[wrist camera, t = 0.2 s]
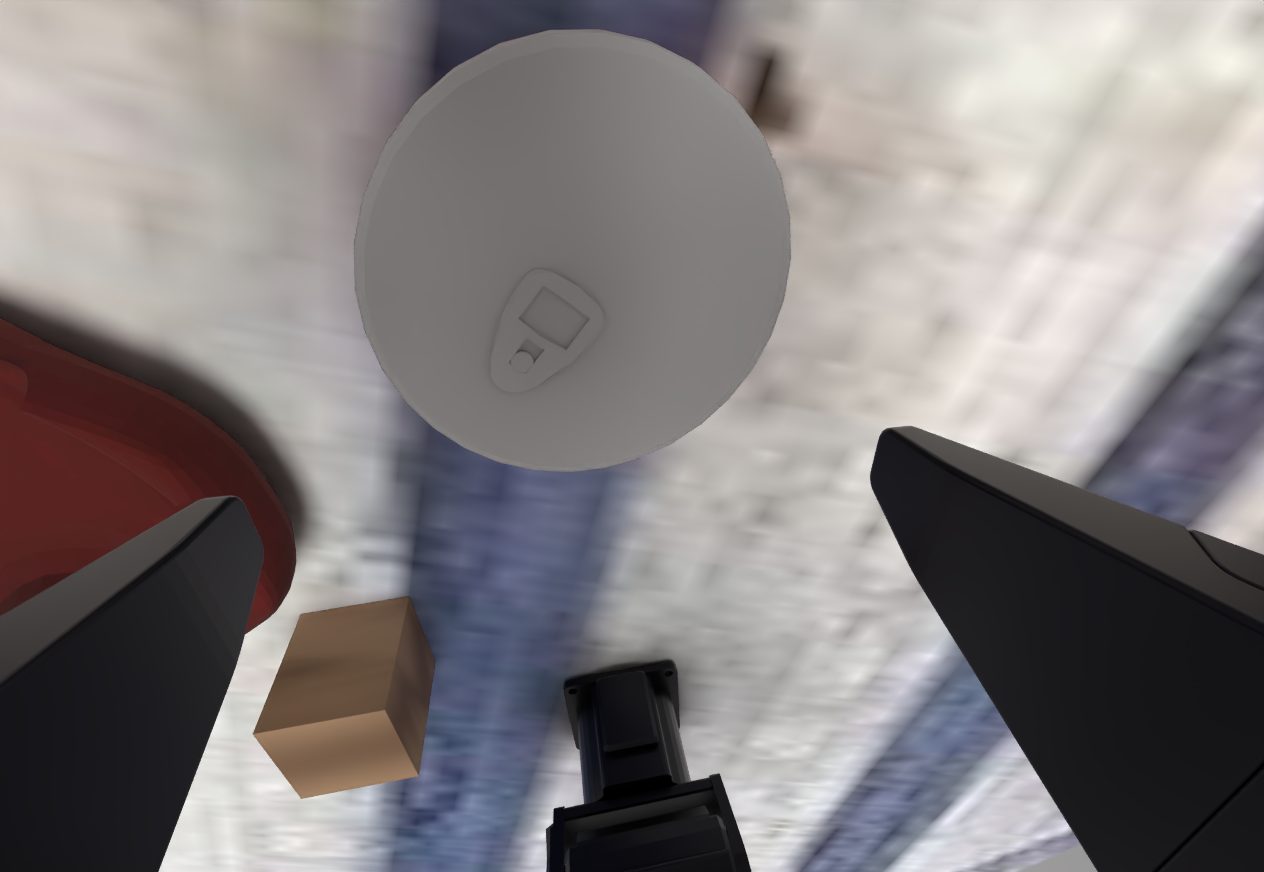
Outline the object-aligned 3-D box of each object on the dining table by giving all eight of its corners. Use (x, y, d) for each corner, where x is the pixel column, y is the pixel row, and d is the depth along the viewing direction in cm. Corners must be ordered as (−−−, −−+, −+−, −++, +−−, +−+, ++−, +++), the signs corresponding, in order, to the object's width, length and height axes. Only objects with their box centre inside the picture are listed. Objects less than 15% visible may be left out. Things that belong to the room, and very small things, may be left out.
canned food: (407, 256, 20) (310, 420, 11) (474, -11, 17) (414, -102, 7) (613, 330, 23) (675, 513, 13) (708, 112, 19) (880, 159, 10)
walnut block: (435, 660, 31) (418, 776, 26) (337, 678, 31) (301, 798, 26) (409, 595, 28) (384, 710, 23) (301, 613, 28) (252, 734, 23)
